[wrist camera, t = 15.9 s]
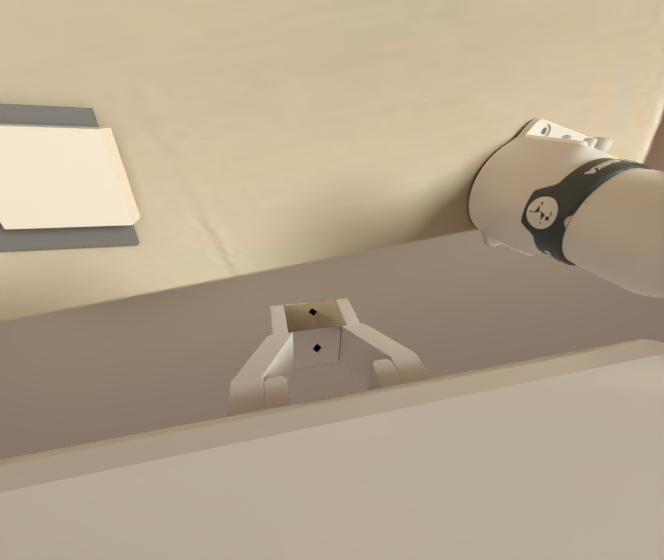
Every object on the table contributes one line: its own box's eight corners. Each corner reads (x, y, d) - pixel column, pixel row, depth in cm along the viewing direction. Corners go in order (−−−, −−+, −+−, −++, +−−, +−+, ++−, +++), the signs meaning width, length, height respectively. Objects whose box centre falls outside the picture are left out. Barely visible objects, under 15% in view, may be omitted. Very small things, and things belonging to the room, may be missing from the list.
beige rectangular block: (98, 129, 24) (-61, 123, 22) (132, 225, 29) (4, 229, 27) (111, 127, 27) (-31, 122, 24) (141, 216, 31) (24, 219, 29)
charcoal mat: (92, 108, 26) (88, 108, 26) (139, 242, 33) (137, 244, 33) (-103, 98, 23) (-110, 98, 22) (-3, 249, 30) (-8, 251, 30)
